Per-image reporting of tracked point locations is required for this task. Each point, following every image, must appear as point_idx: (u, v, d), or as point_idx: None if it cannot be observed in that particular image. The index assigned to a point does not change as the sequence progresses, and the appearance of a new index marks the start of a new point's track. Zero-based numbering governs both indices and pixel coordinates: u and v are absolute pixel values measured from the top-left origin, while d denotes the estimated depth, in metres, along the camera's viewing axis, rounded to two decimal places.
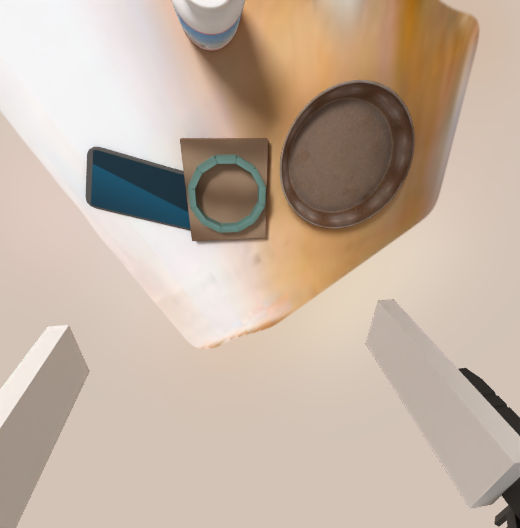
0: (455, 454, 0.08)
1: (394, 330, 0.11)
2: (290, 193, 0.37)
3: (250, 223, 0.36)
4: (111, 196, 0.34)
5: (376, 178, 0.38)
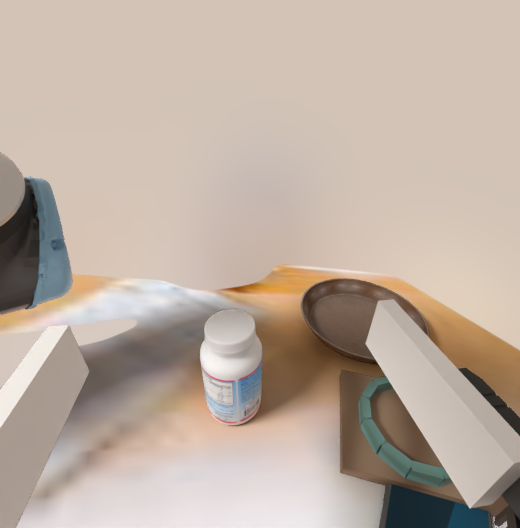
0: (455, 454, 0.08)
1: (394, 330, 0.11)
2: None
3: None
4: None
5: (371, 303, 0.45)
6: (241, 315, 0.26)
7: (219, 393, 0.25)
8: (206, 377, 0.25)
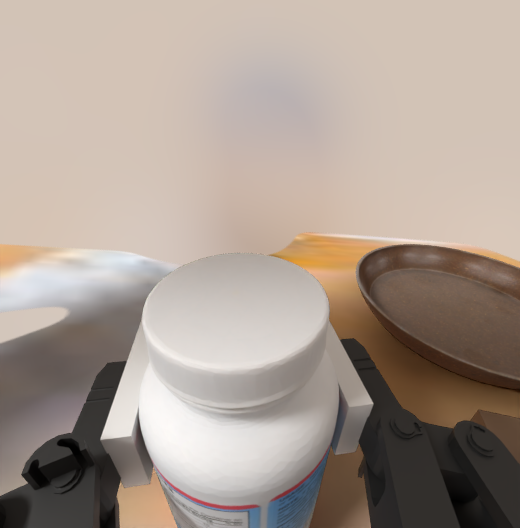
0: None
1: None
2: None
3: None
4: None
5: (464, 282, 0.28)
6: (273, 268, 0.08)
7: None
8: (158, 474, 0.07)
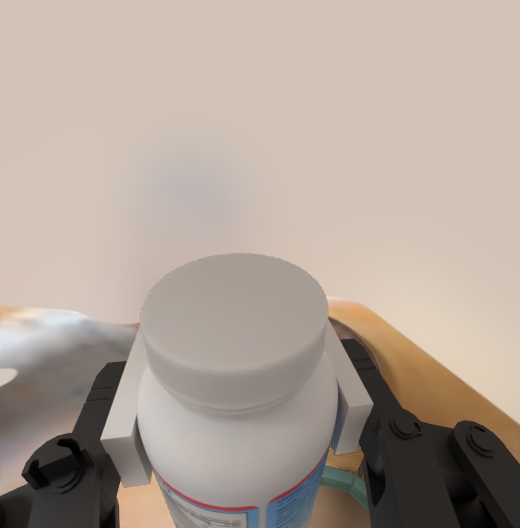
0: None
1: None
2: None
3: None
4: None
5: None
6: (272, 268, 0.08)
7: None
8: (156, 476, 0.07)
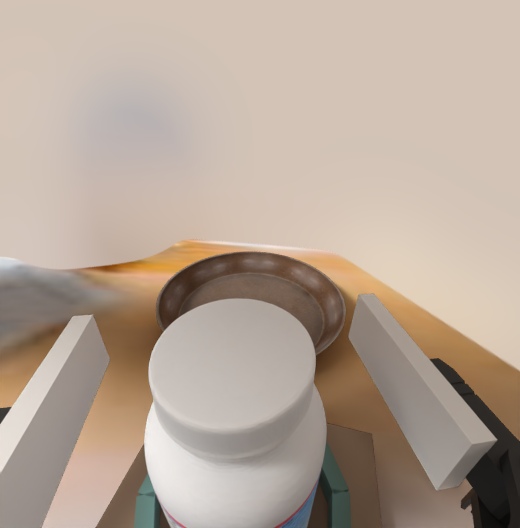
0: (424, 439, 0.09)
1: (372, 322, 0.12)
2: None
3: (326, 449, 0.14)
4: None
5: (285, 284, 0.32)
6: (266, 316, 0.09)
7: None
8: (162, 507, 0.08)
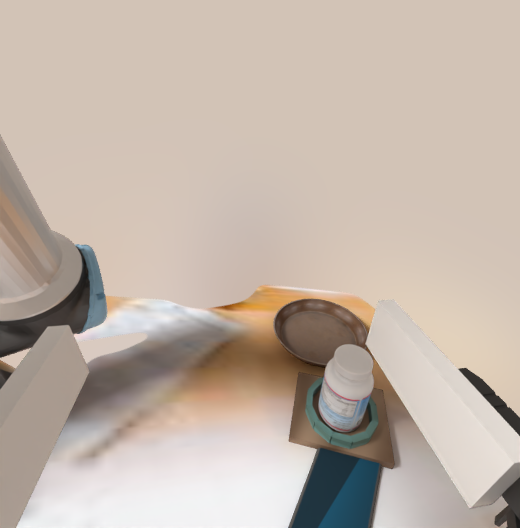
0: (455, 454, 0.08)
1: (395, 330, 0.11)
2: None
3: None
4: None
5: (331, 319, 0.57)
6: (358, 349, 0.34)
7: (344, 408, 0.34)
8: (334, 396, 0.34)
